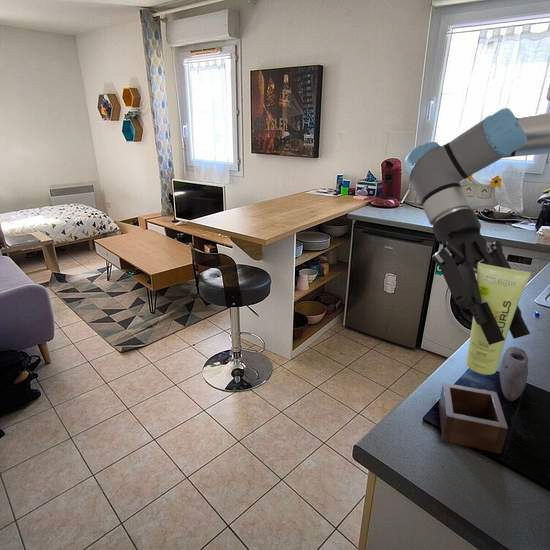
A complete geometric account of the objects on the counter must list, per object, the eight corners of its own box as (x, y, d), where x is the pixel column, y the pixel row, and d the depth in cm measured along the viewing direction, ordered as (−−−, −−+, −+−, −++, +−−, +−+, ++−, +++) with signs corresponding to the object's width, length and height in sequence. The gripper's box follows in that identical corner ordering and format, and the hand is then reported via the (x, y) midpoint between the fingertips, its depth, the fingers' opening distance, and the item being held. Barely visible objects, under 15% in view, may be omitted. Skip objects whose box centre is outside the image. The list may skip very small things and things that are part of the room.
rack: (490, 415, 74) (496, 392, 72) (501, 454, 66) (508, 428, 63) (438, 405, 77) (442, 382, 75) (442, 440, 69) (447, 416, 66)
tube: (470, 376, 64) (494, 273, 56) (457, 359, 68) (477, 261, 61) (502, 376, 63) (531, 272, 56) (487, 358, 68) (511, 261, 61)
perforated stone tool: (521, 412, 75) (529, 385, 72) (492, 402, 77) (499, 375, 75) (525, 373, 86) (532, 348, 83) (499, 366, 89) (505, 341, 86)
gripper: (475, 223, 73) (531, 335, 65) (400, 233, 68) (450, 354, 60) (503, 202, 67) (569, 323, 58) (423, 211, 62) (483, 344, 54)
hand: (509, 339), depth 59 cm, fingers closed on tube, 5 cm apart
